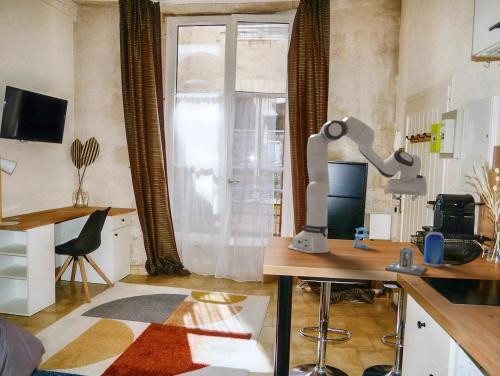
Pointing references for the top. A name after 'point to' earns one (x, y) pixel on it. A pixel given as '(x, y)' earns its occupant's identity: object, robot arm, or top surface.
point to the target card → (406, 269)
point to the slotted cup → (410, 257)
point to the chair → (360, 237)
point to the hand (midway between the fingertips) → (403, 199)
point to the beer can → (434, 249)
